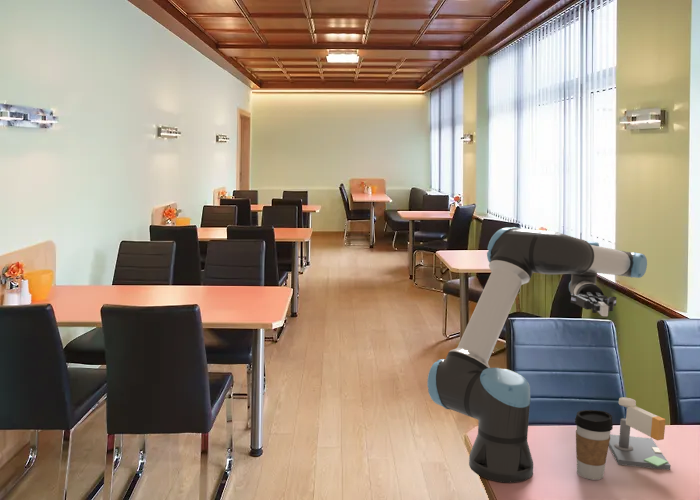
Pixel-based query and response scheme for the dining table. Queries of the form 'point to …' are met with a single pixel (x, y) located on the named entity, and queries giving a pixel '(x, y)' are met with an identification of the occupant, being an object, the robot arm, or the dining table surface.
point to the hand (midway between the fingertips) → (605, 311)
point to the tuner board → (638, 453)
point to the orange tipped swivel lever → (639, 422)
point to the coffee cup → (592, 442)
